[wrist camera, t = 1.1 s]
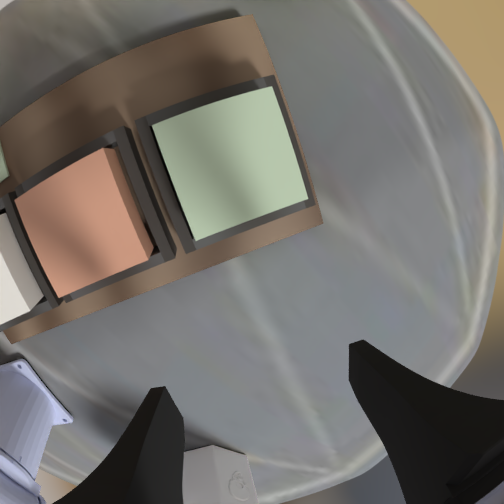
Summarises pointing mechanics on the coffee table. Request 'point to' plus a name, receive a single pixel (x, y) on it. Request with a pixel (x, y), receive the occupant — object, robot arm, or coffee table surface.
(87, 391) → the coffee table surface
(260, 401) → the coffee table surface
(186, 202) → the key sage
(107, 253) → the key terracotta
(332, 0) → the coffee table surface
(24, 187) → the console
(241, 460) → the jar
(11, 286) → the key white
